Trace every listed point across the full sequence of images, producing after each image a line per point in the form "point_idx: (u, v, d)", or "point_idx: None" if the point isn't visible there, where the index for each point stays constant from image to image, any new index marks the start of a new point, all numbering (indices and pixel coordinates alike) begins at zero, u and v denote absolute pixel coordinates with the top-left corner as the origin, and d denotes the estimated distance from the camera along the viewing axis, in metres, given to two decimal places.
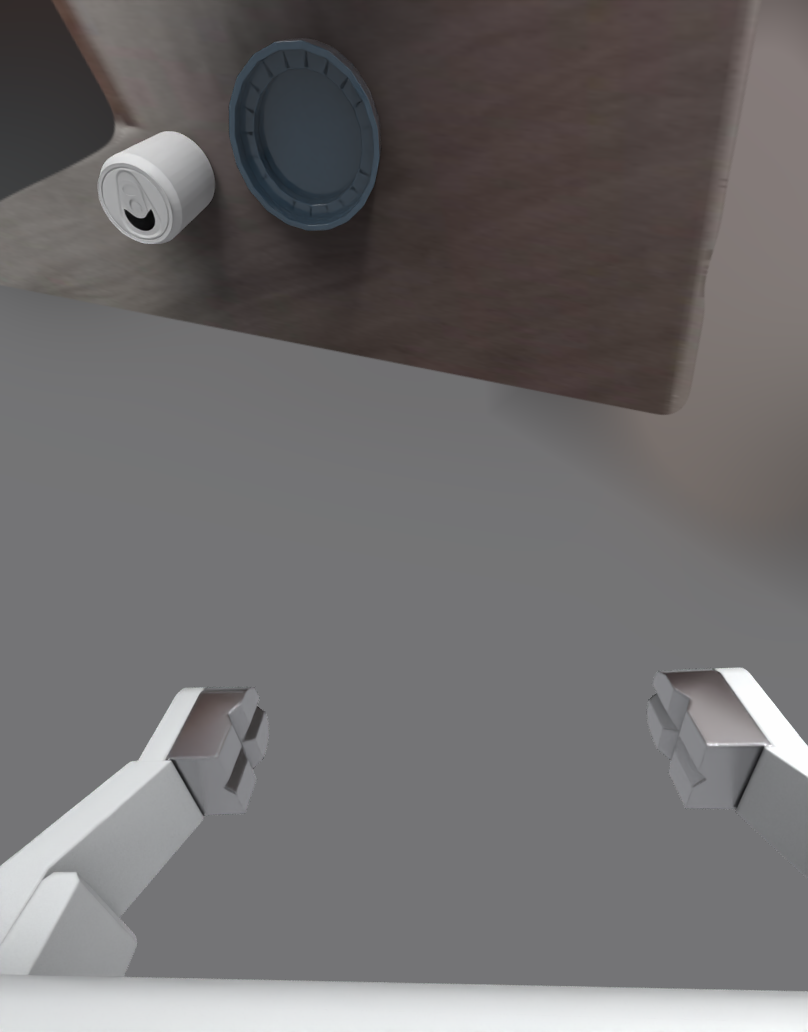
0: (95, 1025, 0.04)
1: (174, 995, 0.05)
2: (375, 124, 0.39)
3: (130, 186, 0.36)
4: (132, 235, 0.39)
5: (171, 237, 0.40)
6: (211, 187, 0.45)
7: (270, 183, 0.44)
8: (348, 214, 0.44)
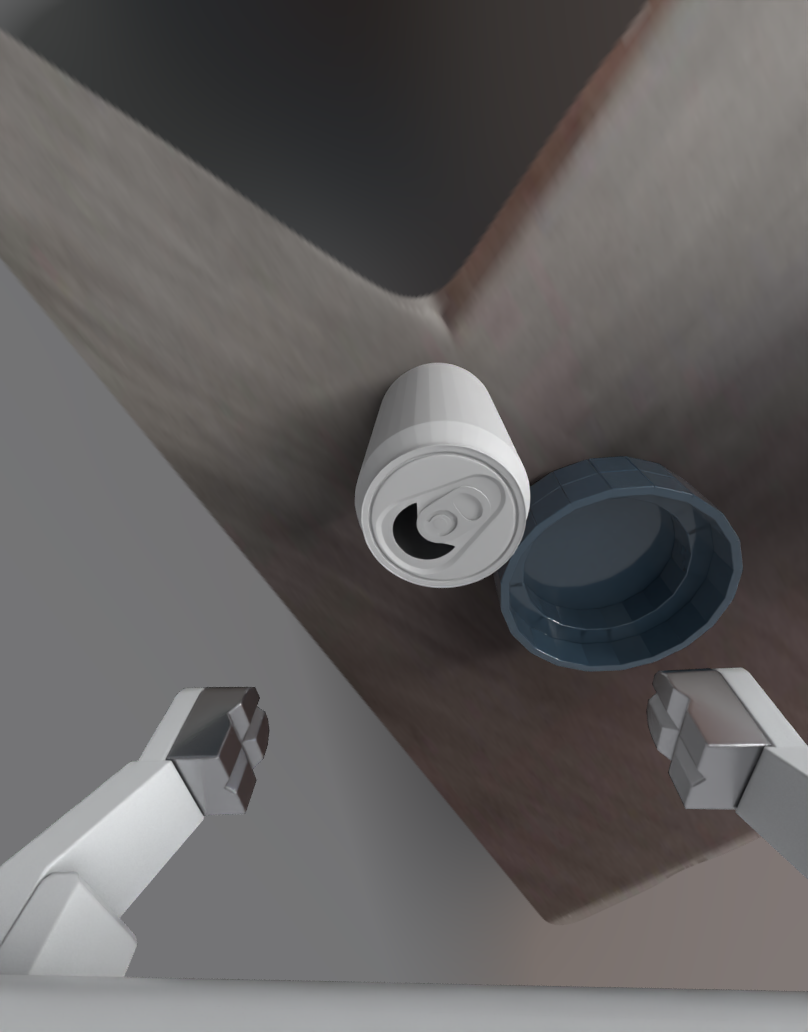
0: (95, 1025, 0.04)
1: (174, 995, 0.05)
2: (689, 643, 0.27)
3: (473, 502, 0.15)
4: (370, 530, 0.16)
5: None
6: None
7: (523, 550, 0.27)
8: (566, 662, 0.29)
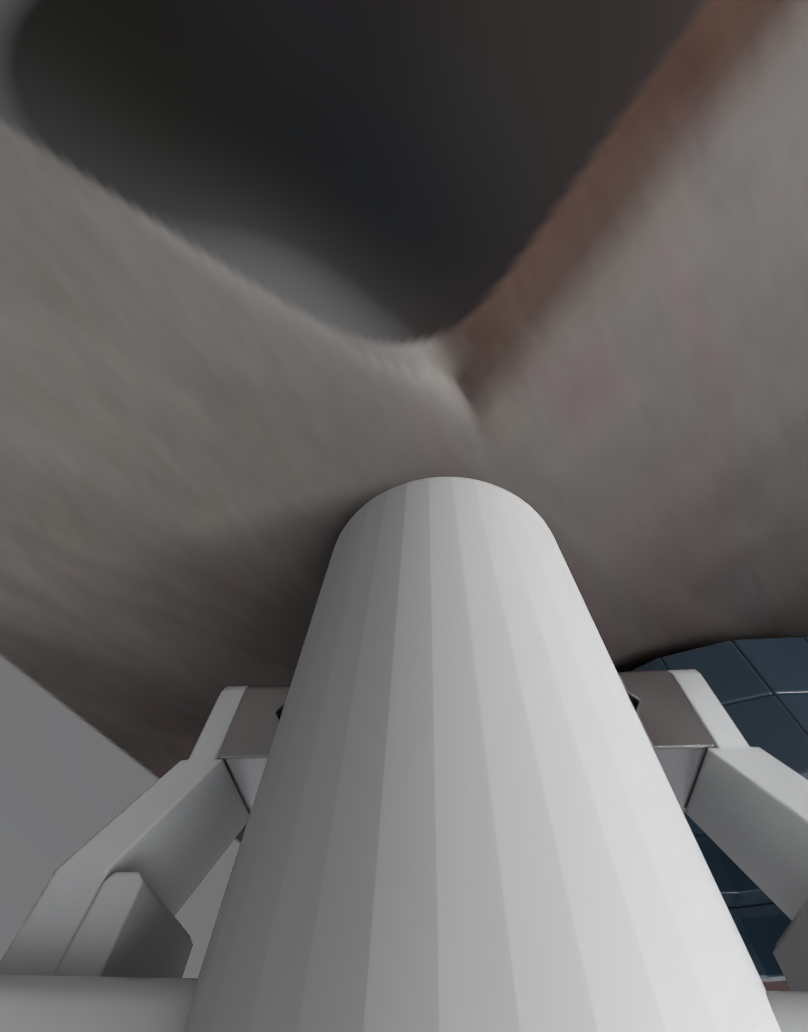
0: (95, 1025, 0.04)
1: (174, 995, 0.05)
2: None
3: None
4: None
5: None
6: None
7: None
8: None
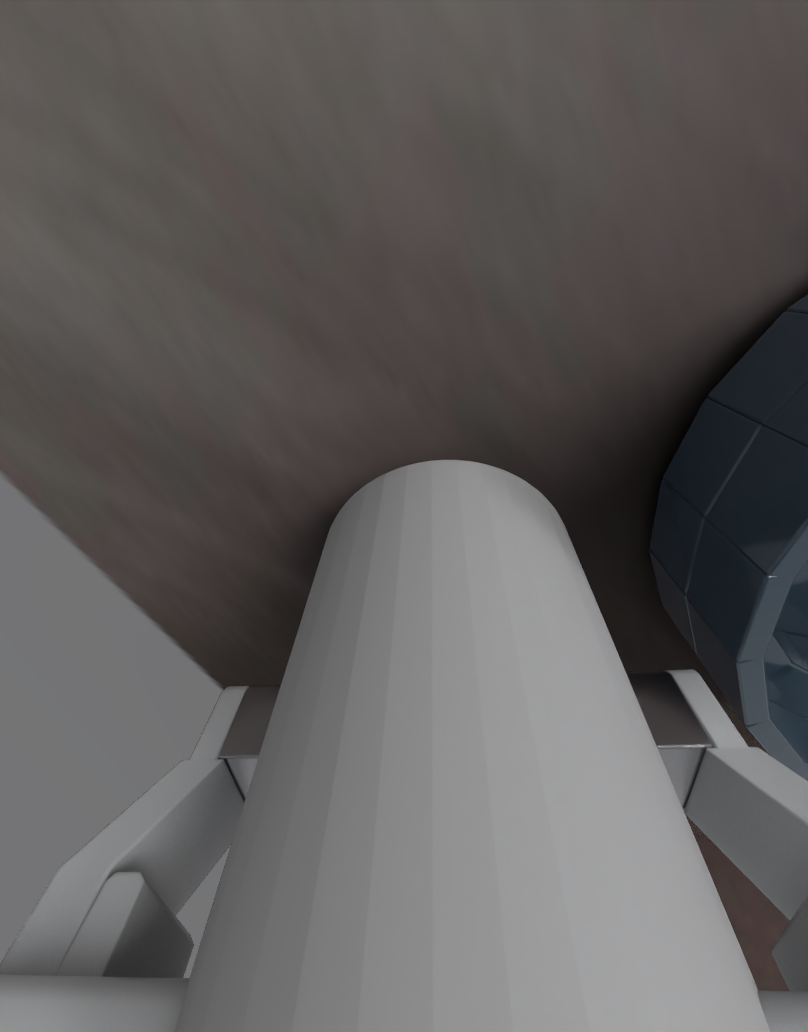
0: (95, 1025, 0.04)
1: (174, 995, 0.05)
2: None
3: None
4: None
5: None
6: None
7: None
8: None
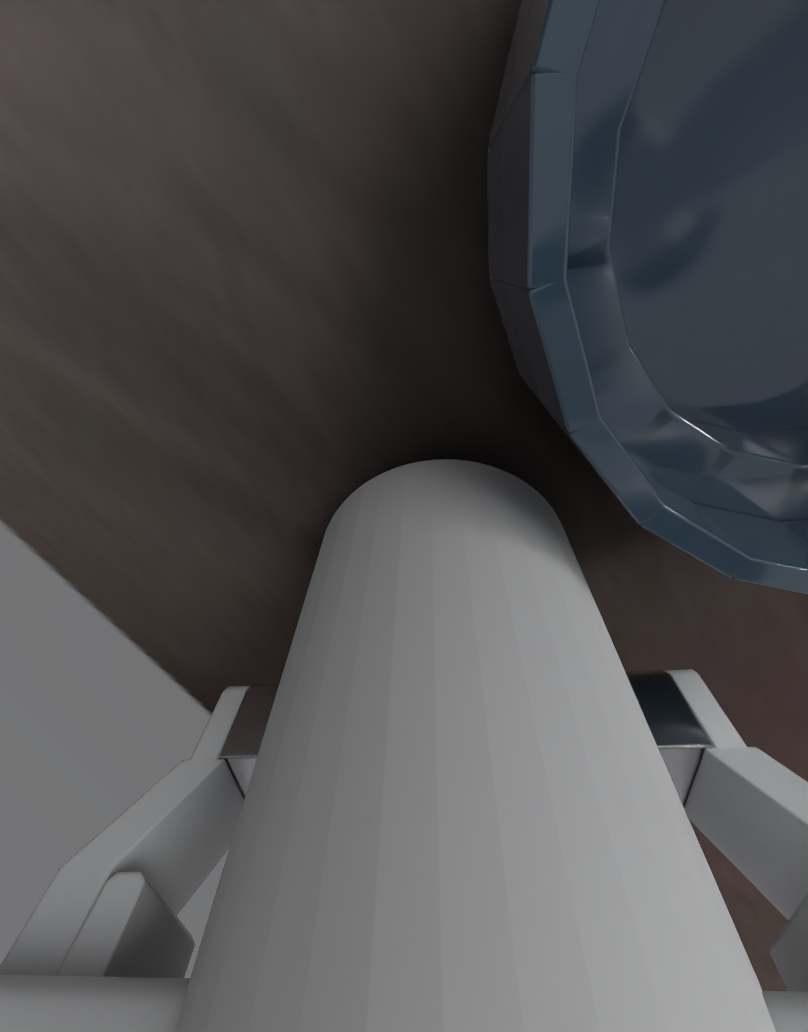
0: (95, 1025, 0.04)
1: (174, 995, 0.05)
2: None
3: None
4: None
5: None
6: None
7: (627, 32, 0.06)
8: (770, 566, 0.08)
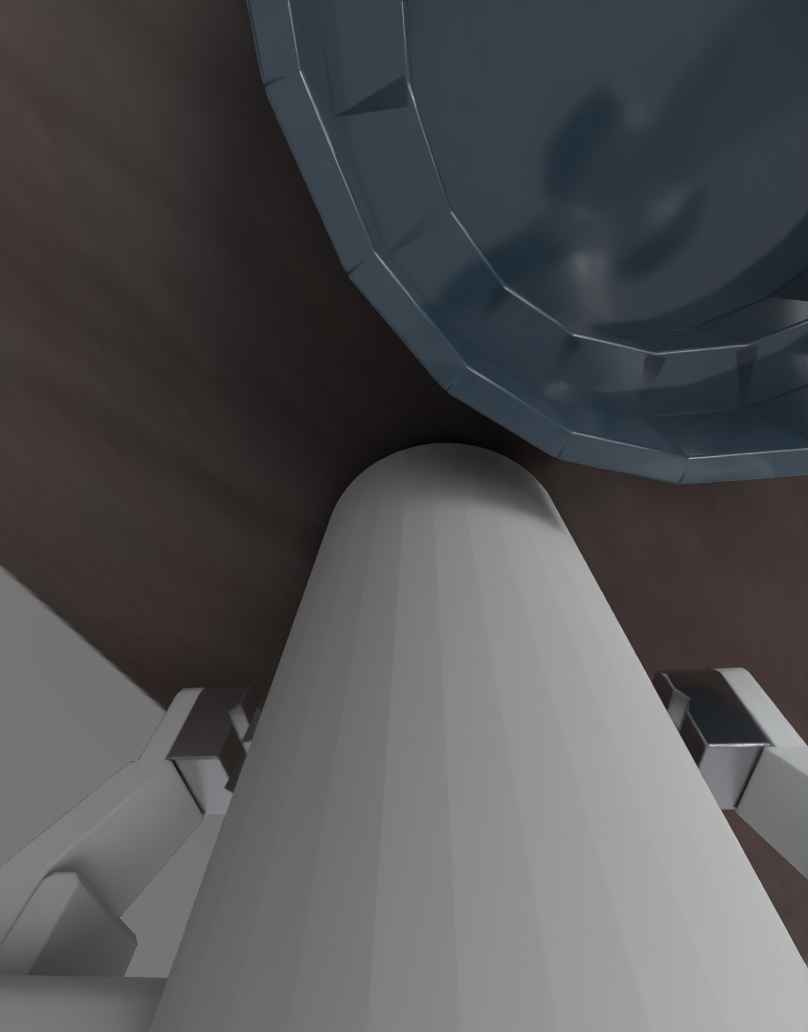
0: (95, 1025, 0.04)
1: None
2: None
3: None
4: None
5: None
6: None
7: None
8: (594, 441, 0.07)
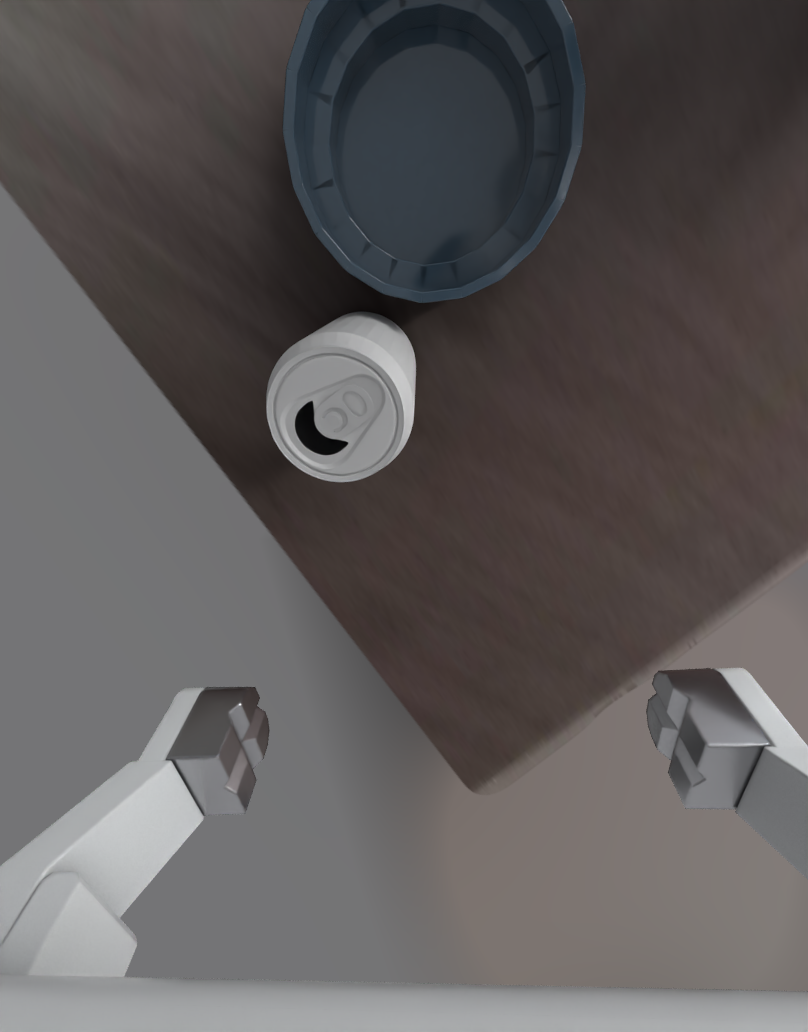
0: (95, 1025, 0.04)
1: (174, 995, 0.05)
2: (539, 239, 0.22)
3: (360, 400, 0.18)
4: (276, 426, 0.19)
5: None
6: None
7: (323, 116, 0.21)
8: (392, 287, 0.23)
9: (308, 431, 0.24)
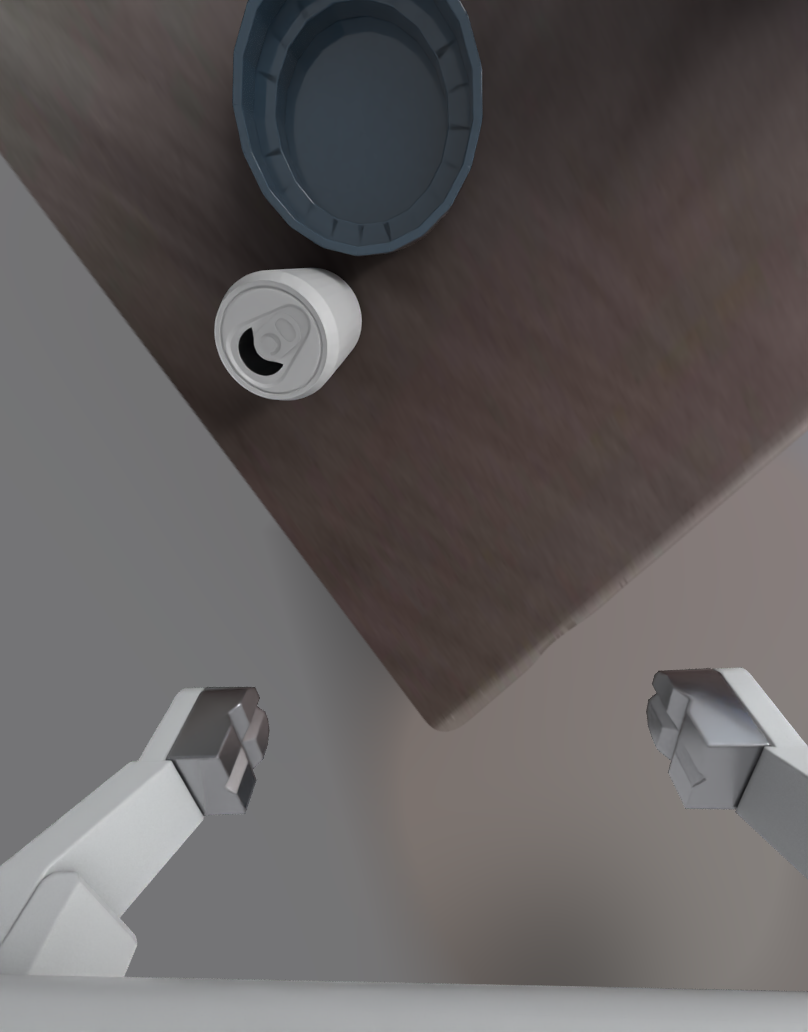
0: (95, 1025, 0.04)
1: (174, 995, 0.05)
2: (452, 200, 0.26)
3: (290, 327, 0.22)
4: (223, 350, 0.23)
5: None
6: None
7: (270, 93, 0.25)
8: (331, 242, 0.27)
9: (260, 366, 0.28)
